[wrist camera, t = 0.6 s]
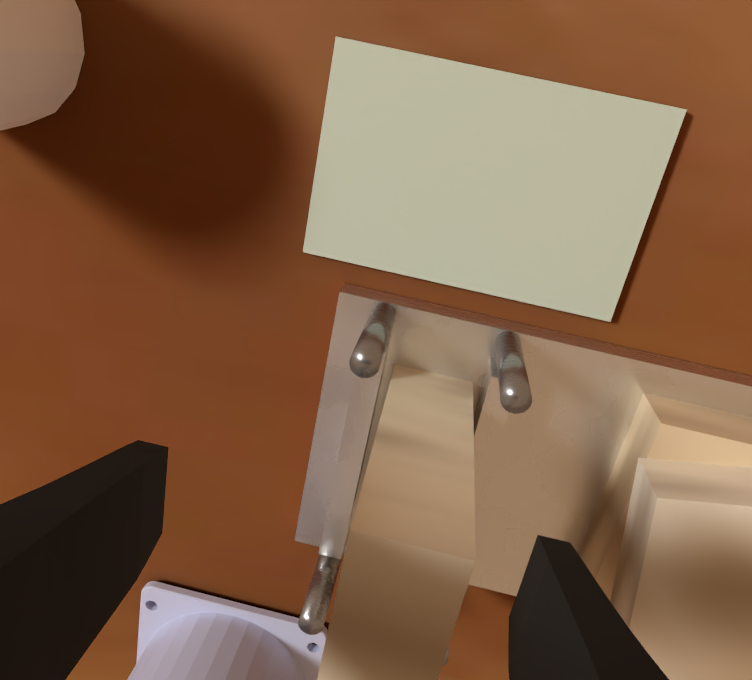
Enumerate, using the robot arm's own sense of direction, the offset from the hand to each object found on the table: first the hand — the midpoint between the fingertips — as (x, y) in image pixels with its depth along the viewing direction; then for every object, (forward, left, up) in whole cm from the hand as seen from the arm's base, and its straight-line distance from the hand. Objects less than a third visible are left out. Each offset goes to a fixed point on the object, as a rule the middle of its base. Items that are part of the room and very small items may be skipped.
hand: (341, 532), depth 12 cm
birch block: (-3, -1, -9) cm, 10 cm away
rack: (-3, -6, -10) cm, 12 cm away
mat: (+6, -1, -10) cm, 12 cm away
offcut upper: (-3, -10, -7) cm, 13 cm away
